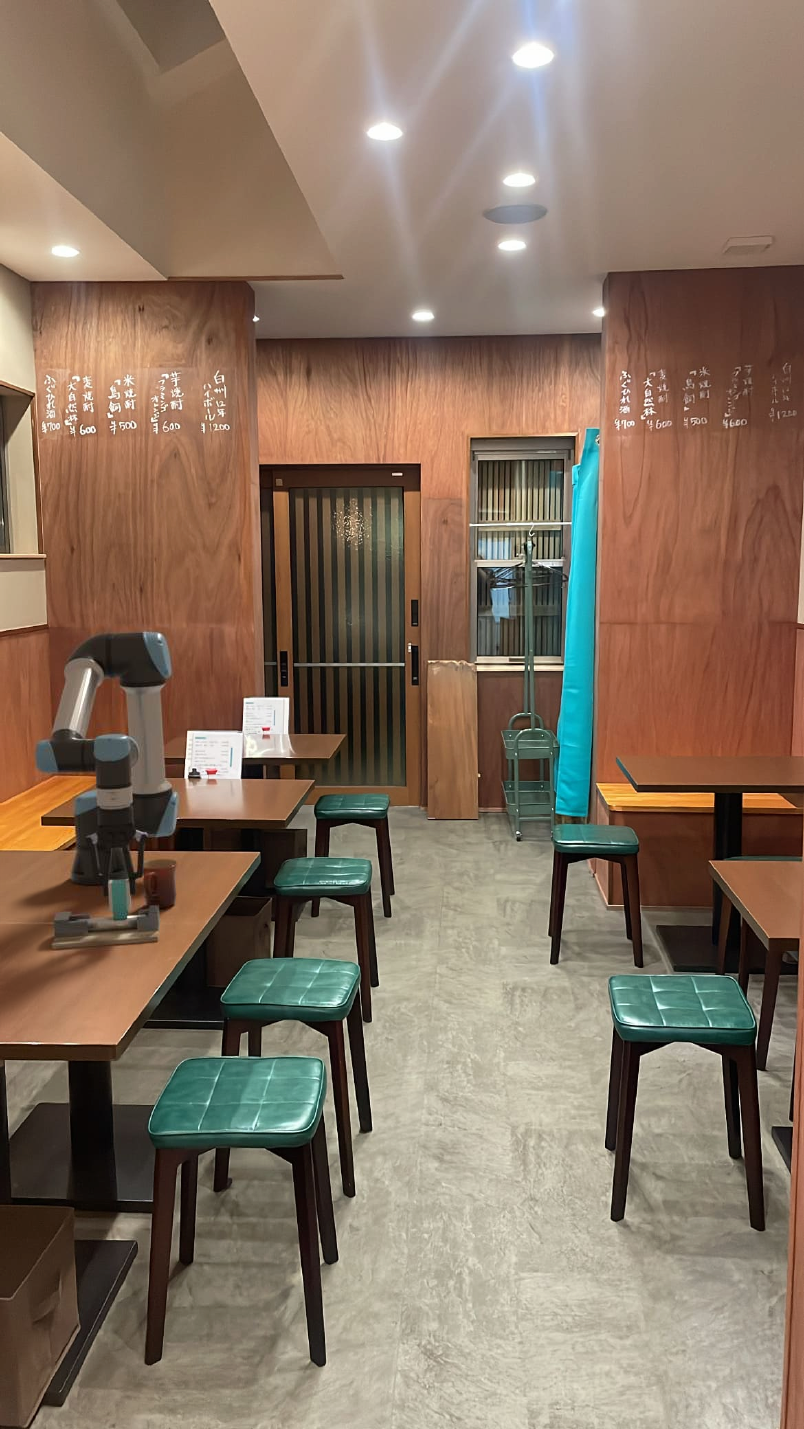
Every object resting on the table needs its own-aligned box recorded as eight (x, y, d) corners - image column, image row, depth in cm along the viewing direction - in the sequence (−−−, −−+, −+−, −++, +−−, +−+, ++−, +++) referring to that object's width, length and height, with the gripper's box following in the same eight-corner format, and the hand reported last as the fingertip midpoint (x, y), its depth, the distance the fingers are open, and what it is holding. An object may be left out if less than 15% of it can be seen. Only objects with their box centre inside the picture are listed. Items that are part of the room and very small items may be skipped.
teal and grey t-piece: (78, 929, 237) (75, 882, 236) (147, 924, 240) (145, 877, 238) (76, 934, 234) (73, 886, 233) (146, 929, 237) (144, 881, 235)
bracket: (58, 929, 238) (57, 912, 237) (90, 927, 239) (89, 910, 238) (54, 938, 232) (53, 920, 232) (88, 935, 233) (87, 918, 233)
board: (60, 928, 242) (60, 923, 242) (160, 921, 246) (160, 916, 246) (52, 949, 228) (52, 944, 228) (157, 941, 232) (157, 936, 232)
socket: (139, 923, 241) (138, 906, 240) (159, 922, 242) (158, 904, 241) (137, 932, 235) (136, 914, 234) (158, 930, 236) (157, 913, 235)
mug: (151, 898, 263) (149, 858, 262) (185, 900, 261) (183, 859, 260) (129, 914, 251) (127, 871, 250) (164, 915, 250) (162, 873, 248)
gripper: (74, 811, 229) (80, 917, 232) (151, 807, 231) (157, 912, 234) (79, 804, 236) (84, 907, 239) (153, 800, 239) (158, 902, 242)
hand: (120, 909), depth 237 cm, fingers closed on teal and grey t-piece, 3 cm apart
